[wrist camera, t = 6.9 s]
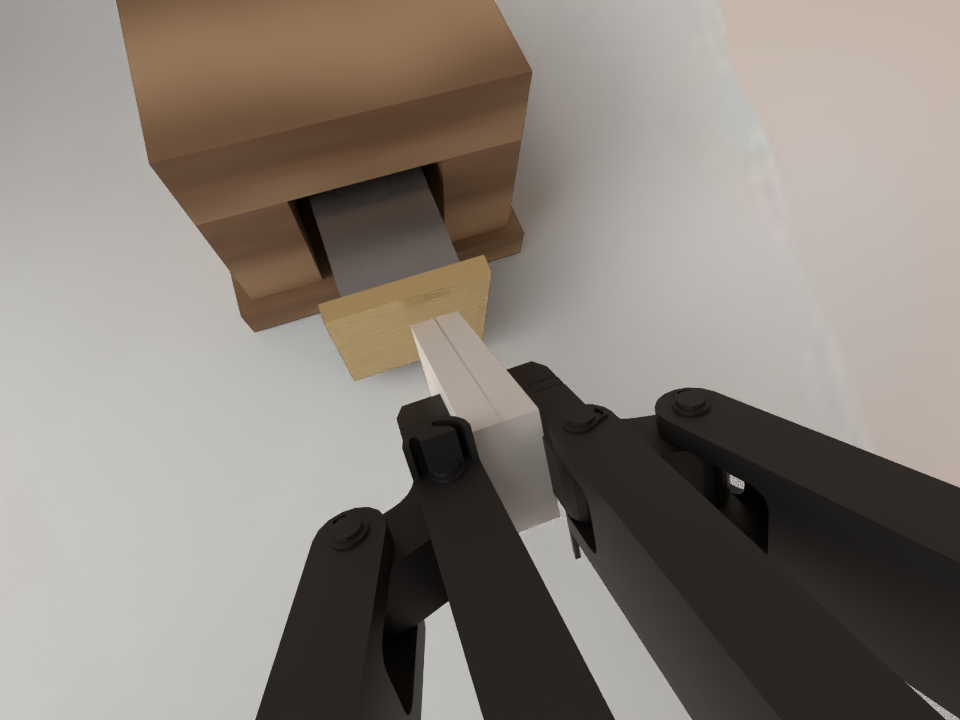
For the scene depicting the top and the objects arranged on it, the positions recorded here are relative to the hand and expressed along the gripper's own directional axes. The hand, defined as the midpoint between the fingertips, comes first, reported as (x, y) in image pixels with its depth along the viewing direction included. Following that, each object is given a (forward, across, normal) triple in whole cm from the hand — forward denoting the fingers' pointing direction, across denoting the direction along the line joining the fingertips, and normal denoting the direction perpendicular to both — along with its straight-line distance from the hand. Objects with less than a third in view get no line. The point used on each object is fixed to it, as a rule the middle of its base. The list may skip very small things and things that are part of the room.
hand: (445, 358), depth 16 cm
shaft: (+10, -1, +6) cm, 12 cm away
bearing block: (+11, -1, +5) cm, 12 cm away
